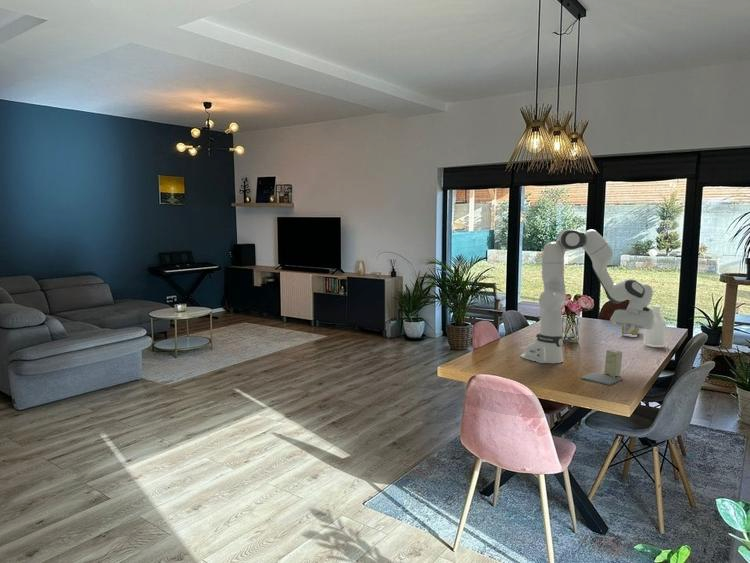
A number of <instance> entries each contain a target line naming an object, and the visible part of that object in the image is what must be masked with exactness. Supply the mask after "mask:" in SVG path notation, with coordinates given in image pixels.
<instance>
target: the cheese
mask: <svg viewBox="0 0 750 563" xmlns="http://www.w3.org/2000/svg"><path fill="white" fill-rule="evenodd" d="M627 328H628V329H629V328H631V327H627ZM638 331H639V332H640V328H635V329H634V330H632V331H631V333H624V326H621V335H622V334H632V335H637V336H638V334H639V333H638Z"/></svg>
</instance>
